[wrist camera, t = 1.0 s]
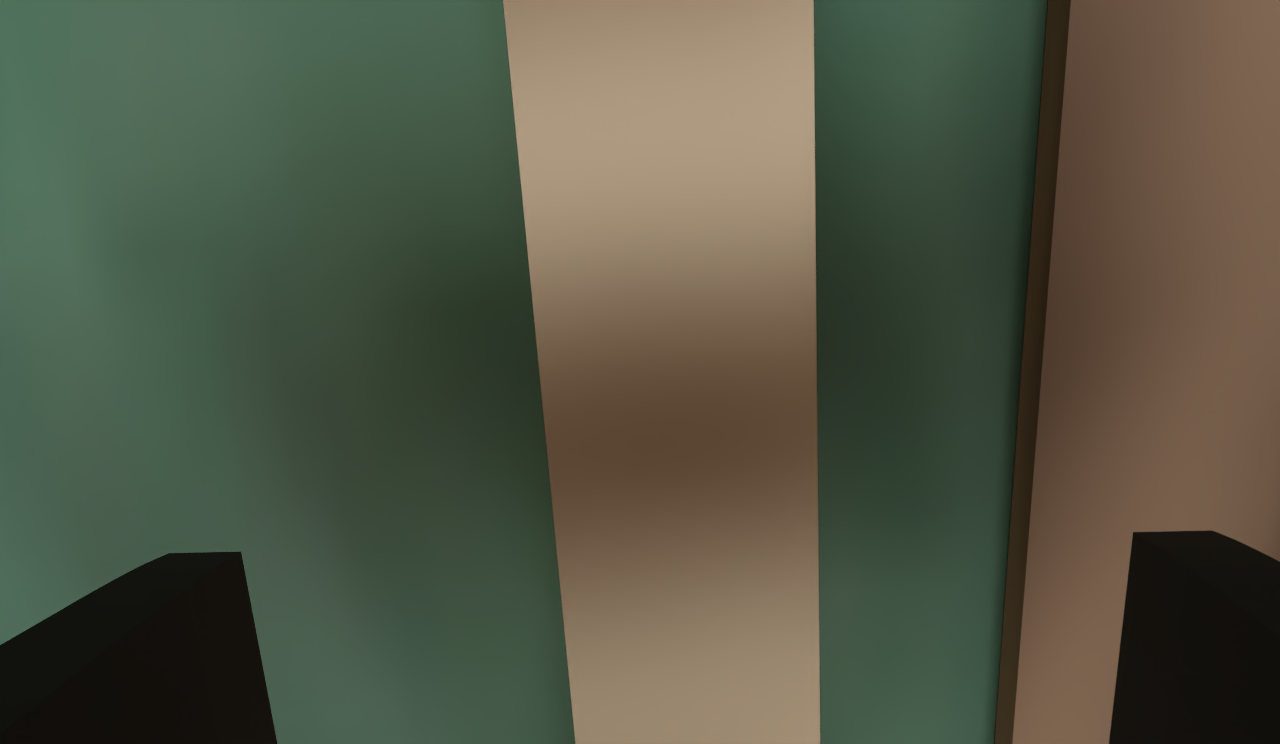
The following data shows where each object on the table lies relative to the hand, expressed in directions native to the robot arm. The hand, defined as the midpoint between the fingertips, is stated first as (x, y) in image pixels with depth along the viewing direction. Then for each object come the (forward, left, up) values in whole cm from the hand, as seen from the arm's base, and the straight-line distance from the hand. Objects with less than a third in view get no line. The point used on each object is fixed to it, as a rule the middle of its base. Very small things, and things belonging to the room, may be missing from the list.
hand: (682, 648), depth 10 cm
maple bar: (0, 0, -9) cm, 9 cm away
